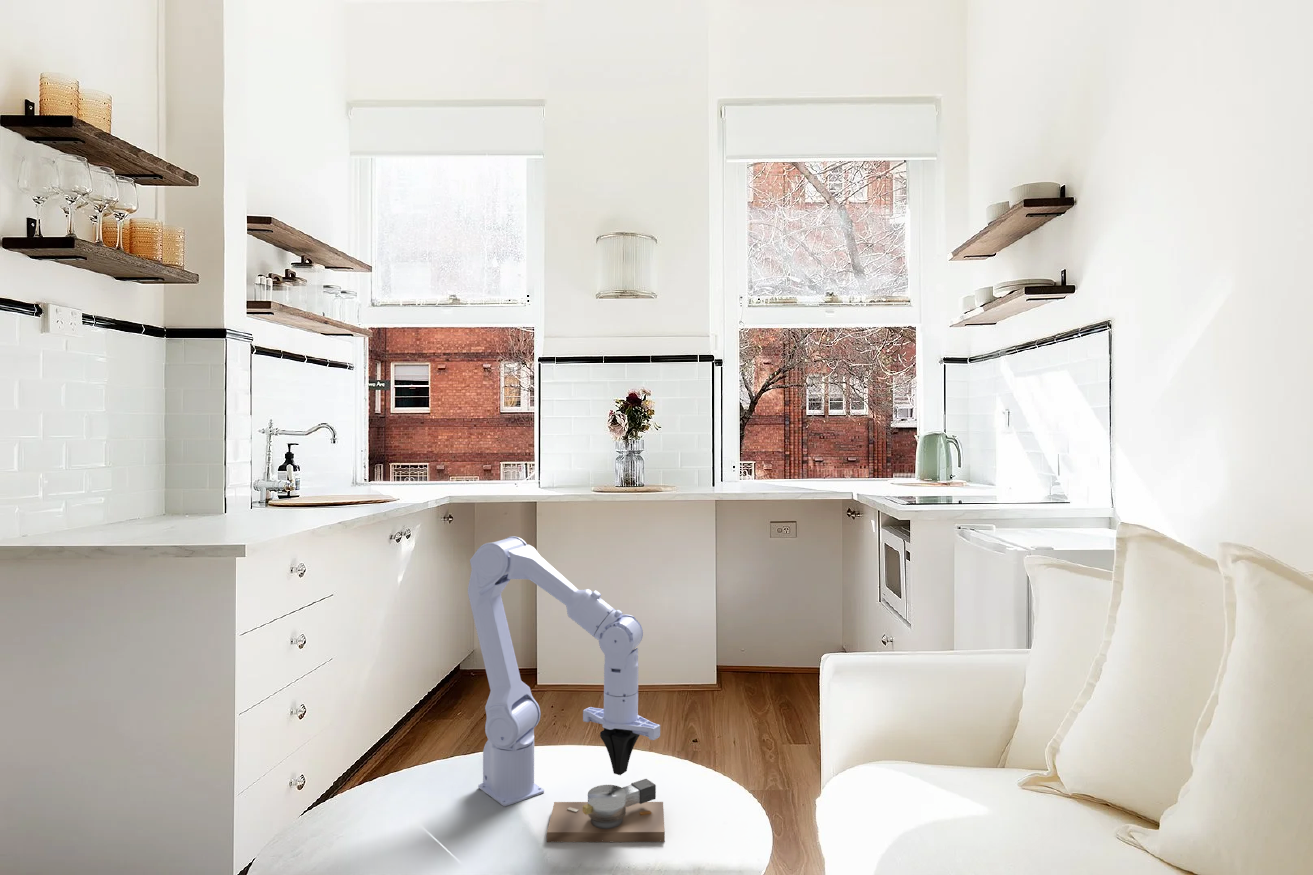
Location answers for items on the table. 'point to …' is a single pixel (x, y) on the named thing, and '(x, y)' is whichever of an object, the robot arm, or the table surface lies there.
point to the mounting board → (606, 824)
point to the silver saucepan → (617, 799)
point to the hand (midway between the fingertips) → (620, 772)
